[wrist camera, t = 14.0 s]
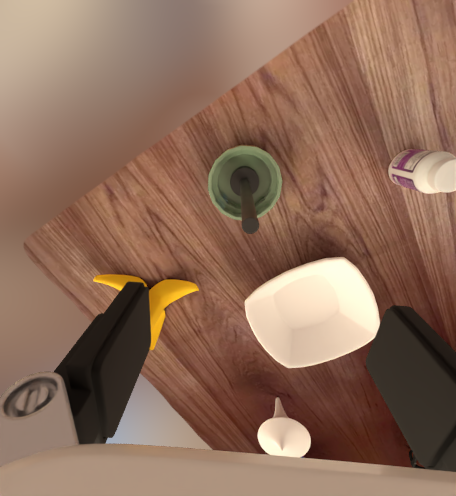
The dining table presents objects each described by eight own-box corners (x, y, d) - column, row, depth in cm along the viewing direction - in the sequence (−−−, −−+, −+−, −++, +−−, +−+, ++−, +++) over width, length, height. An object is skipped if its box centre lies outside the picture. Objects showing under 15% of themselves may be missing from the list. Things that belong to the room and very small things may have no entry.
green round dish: (213, 141, 39) (210, 142, 35) (282, 147, 39) (287, 149, 35) (209, 209, 44) (206, 217, 40) (271, 214, 44) (275, 223, 40)
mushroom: (246, 394, 62) (248, 450, 51) (285, 375, 59) (295, 431, 48) (270, 417, 65) (277, 475, 54) (308, 401, 62) (323, 458, 51)
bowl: (340, 230, 44) (352, 242, 40) (378, 319, 52) (392, 339, 47) (230, 282, 49) (229, 298, 45) (279, 357, 57) (282, 377, 52)
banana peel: (152, 340, 56) (121, 417, 41) (99, 269, 49) (37, 331, 34) (221, 314, 53) (215, 389, 37) (174, 235, 46) (143, 286, 31)
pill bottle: (423, 179, 41) (475, 192, 32) (387, 188, 41) (428, 203, 33) (423, 143, 39) (478, 146, 30) (386, 154, 39) (429, 160, 31)
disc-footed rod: (231, 164, 40) (225, 196, 20) (260, 167, 40) (282, 201, 20) (229, 192, 42) (221, 248, 22) (256, 195, 42) (273, 252, 22)
